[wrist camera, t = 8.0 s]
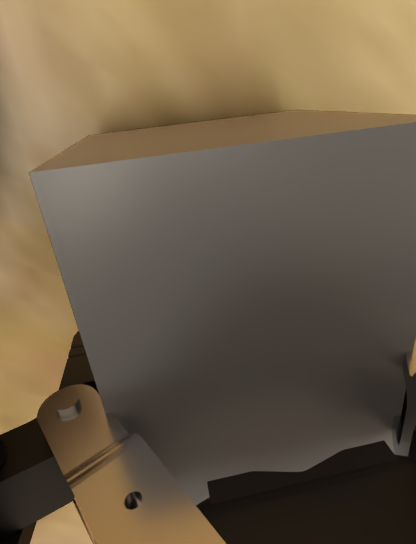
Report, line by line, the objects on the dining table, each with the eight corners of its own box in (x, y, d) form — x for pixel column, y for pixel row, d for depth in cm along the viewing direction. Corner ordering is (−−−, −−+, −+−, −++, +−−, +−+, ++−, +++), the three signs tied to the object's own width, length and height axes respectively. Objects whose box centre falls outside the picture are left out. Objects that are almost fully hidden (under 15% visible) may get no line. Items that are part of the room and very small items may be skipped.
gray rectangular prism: (294, 384, 17) (378, 536, 11) (154, 413, 16) (162, 593, 10) (296, 109, 12) (457, 117, 6) (88, 134, 11) (28, 172, 5)
